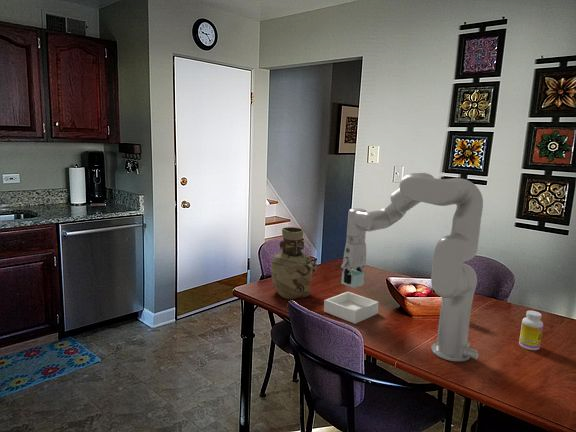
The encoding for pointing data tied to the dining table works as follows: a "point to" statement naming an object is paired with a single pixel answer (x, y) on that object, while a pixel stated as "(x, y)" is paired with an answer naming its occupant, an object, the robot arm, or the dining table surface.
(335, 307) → the white square tray
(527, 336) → the supplement bottle
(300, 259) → the ceramic vessel
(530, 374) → the dining table surface
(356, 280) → the small crate
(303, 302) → the dining table surface
